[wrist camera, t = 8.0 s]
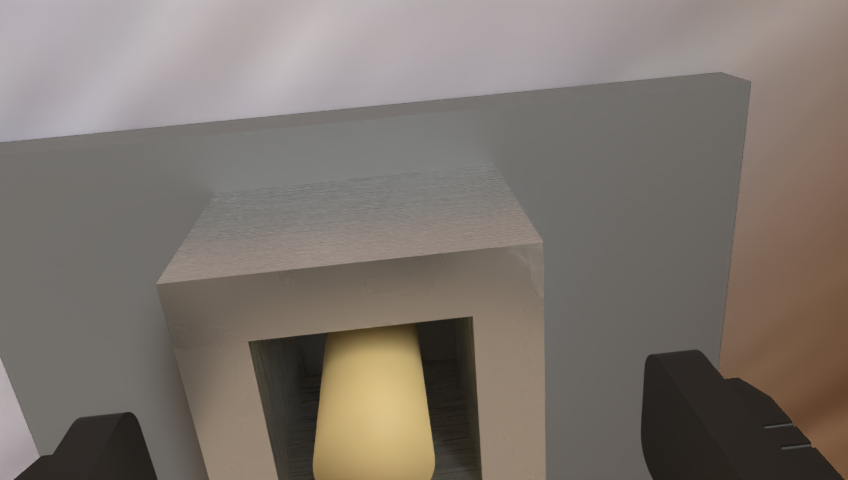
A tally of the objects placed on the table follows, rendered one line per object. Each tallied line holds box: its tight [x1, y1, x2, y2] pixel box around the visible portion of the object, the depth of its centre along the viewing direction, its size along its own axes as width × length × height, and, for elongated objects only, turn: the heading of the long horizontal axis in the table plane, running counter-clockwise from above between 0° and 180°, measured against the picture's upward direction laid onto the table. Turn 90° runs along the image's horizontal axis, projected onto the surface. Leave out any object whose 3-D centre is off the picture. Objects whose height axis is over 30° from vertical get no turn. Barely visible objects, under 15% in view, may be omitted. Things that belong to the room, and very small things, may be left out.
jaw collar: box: [156, 164, 546, 480], centre depth 12 cm, size 6×6×4 cm
